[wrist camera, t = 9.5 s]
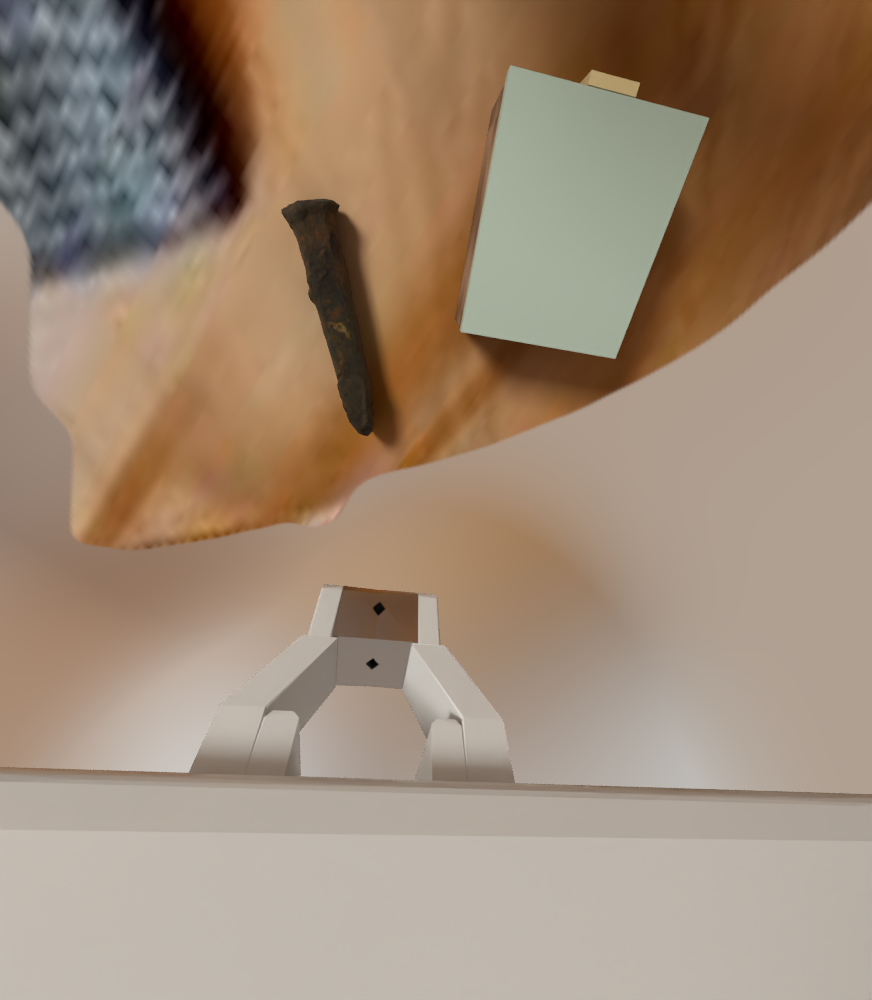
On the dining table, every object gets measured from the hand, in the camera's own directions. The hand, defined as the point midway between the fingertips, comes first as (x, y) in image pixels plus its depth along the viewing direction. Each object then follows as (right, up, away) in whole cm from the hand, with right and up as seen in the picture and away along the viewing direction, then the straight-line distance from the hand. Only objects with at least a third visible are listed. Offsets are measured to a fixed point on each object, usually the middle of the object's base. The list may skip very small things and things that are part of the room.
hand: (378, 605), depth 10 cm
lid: (+11, +22, +18) cm, 30 cm away
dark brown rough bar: (-6, +19, +25) cm, 32 cm away
